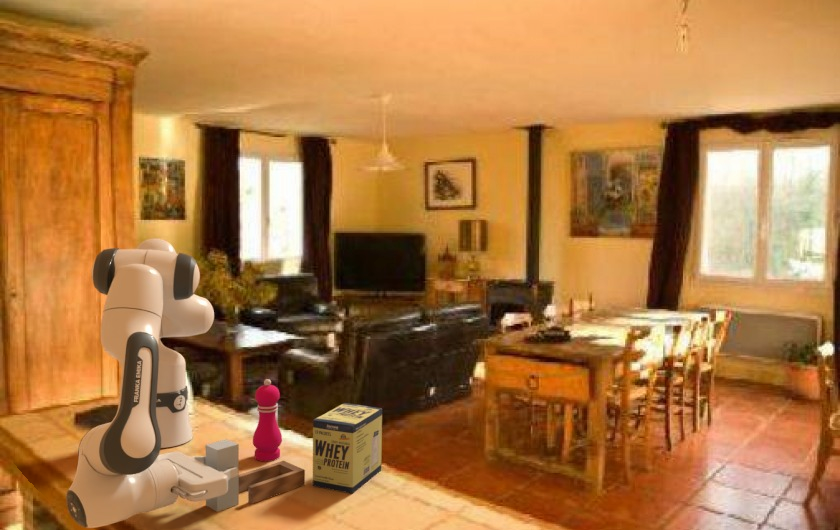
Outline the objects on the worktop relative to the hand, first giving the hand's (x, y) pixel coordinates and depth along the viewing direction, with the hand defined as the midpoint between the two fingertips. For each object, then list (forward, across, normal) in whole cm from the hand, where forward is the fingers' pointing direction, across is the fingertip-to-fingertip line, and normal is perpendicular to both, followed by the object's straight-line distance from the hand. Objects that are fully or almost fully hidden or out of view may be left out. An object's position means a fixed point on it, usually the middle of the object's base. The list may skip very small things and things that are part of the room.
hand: (223, 464), depth 139 cm
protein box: (+28, -8, +9) cm, 30 cm away
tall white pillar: (0, 0, +9) cm, 9 cm away
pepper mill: (+22, +16, +9) cm, 29 cm away
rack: (+11, 0, +9) cm, 14 cm away
